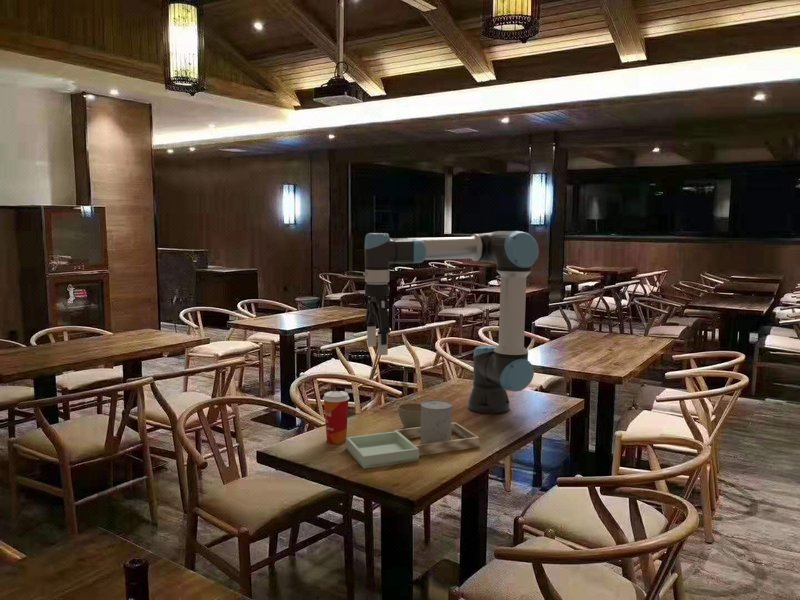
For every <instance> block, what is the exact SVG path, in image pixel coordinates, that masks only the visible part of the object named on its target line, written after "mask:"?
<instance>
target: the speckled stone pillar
mask: <svg viewBox="0 0 800 600" xmlns="http://www.w3.org/2000/svg"><path fill="white" fill-rule="evenodd" d="M420 404H421V437H420V445H421V444H428V443H436V442H443V441H450V440H452V433H451V426H452V423H453V422H452V420H453V419H452V418H453V416H452V414H453V413H452V409H453V404H452V403H451V402H449V401H446V400H440V399H438V400H437V399H436V400H435V399H434V400H433V399H431V400H430V399H429V400H425V401H422V402H421V403H420Z"/></svg>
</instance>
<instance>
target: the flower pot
mask: <svg viewBox="0 0 800 600" xmlns="http://www.w3.org/2000/svg"><path fill="white" fill-rule="evenodd" d="M397 412H398V416H399V420H400V421H401V424H402V425H403V427H404V429H407V428H415V427H421V403H416V402H408V403H402V404H399V405H397Z"/></svg>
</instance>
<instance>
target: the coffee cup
mask: <svg viewBox="0 0 800 600" xmlns="http://www.w3.org/2000/svg"><path fill="white" fill-rule="evenodd" d="M322 400H323V407H324V419H325V421H324V422H325V433H326V442H327V443H328V444H331V445H340V444H345V443H346V437H347V435H348V431H347V430H348V418H349V417H348V416H349V415H348V414H349V413H348V412H349V401H350V396H349V393H348V392H347V391H344V390H340V391H338V390H331V391H327V392H325V393H324V395H323V397H322Z"/></svg>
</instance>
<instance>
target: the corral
mask: <svg viewBox="0 0 800 600" xmlns="http://www.w3.org/2000/svg"><path fill="white" fill-rule="evenodd" d="M394 431H398V432H399V433H400V434H402V435H403V436H404V437H405V438H406V439H408V440H409V439H414V438H421V427H415V428H407V429H405V428H402V429H401V428H400V429H394V430H393V432H394ZM452 433H453V434H454V433H455V434H456V435H458V436H459V437H461V438H459V439H451V440H450V441H443V442H436V443H428V444H421V443H420V444H414V443H413V442H412V441H411V440H409V441H410V442H411V443H412V444H414V445H415V446H416V447H417V448H418V449H419V457H420V456H425V455H426V456H427V455H434V454H440V453H447V452H455V451H461V450H468V449H475V448H476V449H477V448H480V437H479V436H478V435H476V434H475V433H473V432H472V431H470V430H468V429H467V428H466V427H464V426H462V425H461V424H459V423H457V422H452V426H451V434H452Z"/></svg>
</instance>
